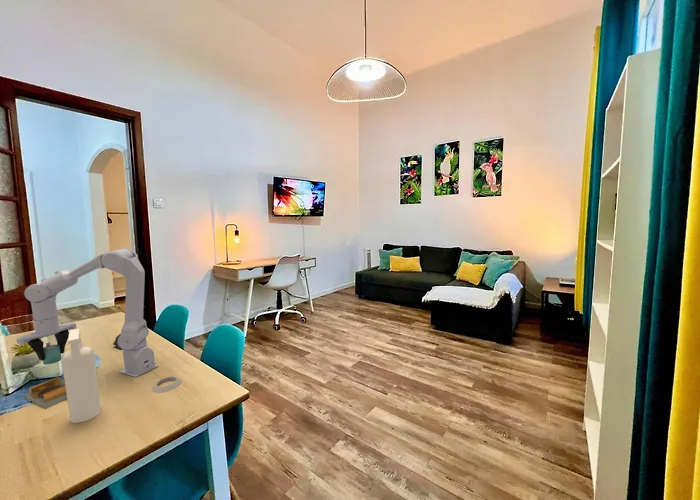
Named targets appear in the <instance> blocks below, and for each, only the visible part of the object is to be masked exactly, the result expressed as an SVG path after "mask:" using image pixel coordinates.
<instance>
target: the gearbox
mask: <svg viewBox="0 0 700 500" xmlns="http://www.w3.org/2000/svg"><path fill="white" fill-rule="evenodd" d="M28 389H29V392H28V393H26V394H24V397H25V400H26V399H28V400H30V401H29V402H31V401H32V402H31V403H33V402H34V403H33V404H35V403H36V404H35V405H38V406H39V407H42V408H44V409H48V408H49V407H52V406H54V405H57V404H59V403H61V402H63V401H65V400H67V393H66V386H65V379H64V378H63V379H61V377H60V376H57V377H54V378H51V379H49V380H47V381H44V382H42V383H39V384H36V385H33V386H31V387H29V388H28ZM28 400H27V401H28Z"/></svg>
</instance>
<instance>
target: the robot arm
mask: <svg viewBox="0 0 700 500" xmlns="http://www.w3.org/2000/svg"><path fill="white" fill-rule="evenodd" d="M97 269H107V270H110V271H112V272H115V273H118V274H120V275H122V276H123V277H124V278H125V280H126V281H125V302H124V303H125V308H124V323H123V325H122V328H121V330H120V334H121V335H120V337H119V338H118V345H119V347H120V348H122V349H121V350H122V354H123V355H122V356H123V365H124V367H123V369H120V370H119V371H118V372H119V373H121V374H125V375H128V376H130V377H133V378H137V377H140V376H141V375H143V374H146V373H147V372H149V371H152V370H154V369H156V368H158V367H159V366H158V365H157V364H156V362H155V353H154V350H153V349H152V348H150V347H149V346H148V342H147V339H146V338H147V337H148V336H149V328H148V326H147V321H146V319H144V308H145V305H144V304H145V303H144V302H145V280H146V279H145V277H146V276H145V275H146V272H145V269H144V267H143V265H142V263H141V262H140V260H139V256H138V254H137V253H135V252H134V251H133V250H131V249H130V248H126V247H125V248H124V247H123V248H120V249H116V250H111V251H110V250H109V251H107V252H104V253H102V254H99V255H97V256H94V257H92V258H91V259H89V260H86V261H85V262H84V263H82V264H80V265H78V266H77V267H75V268H73V269H71V270H69V269H63V270H62V269H59V270H56V271H54V274H53V275H51V276H49V277H48V278H46V277H45V278H42V279H41V280H40V282H39V283H33V284H30V285H29V286H28V287H26V288H25V290H24V291H23V292H24V293H23V295H24V297H25V299H26V300H28V301H29V302H30V305H31V310H32V319H33V324H34V331H33V332H31V333H29V334H25V335H24V336H20V337H16V344H17V345H19V346H21V345H25V344H27V345H28V346H29V347H30V348H31V349H32V350H33V351H34V352H35V354H36V356H37V358H38V360H39V361H43V360H45V356H44V351H43V348H44V341H43V340H42V338H43V339H44V338H47V337H50V336H53V335H54V337H55V340H56V345H60V351H61V355H62V354H63V355H64V354H65V348H66V345H67V343H68V337H69V331H70V330H75V329H77V323H76V322H71V323H65V324H61V325H60V320H59V315H58V307H57V301H56V300H57V295H58V294H59V293H61V292H63V291H65V290H67V289H68V288H71V287H72V286H75V285H76V284H77V283H78V280H79V278H82V277H83V276H85V275H87V274H89V273H91V272H93V271H96V270H97Z"/></svg>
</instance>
